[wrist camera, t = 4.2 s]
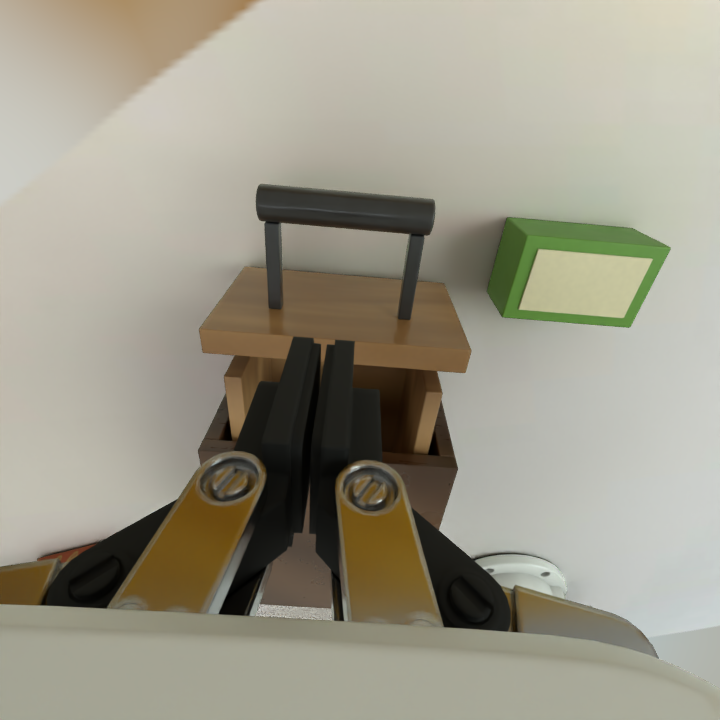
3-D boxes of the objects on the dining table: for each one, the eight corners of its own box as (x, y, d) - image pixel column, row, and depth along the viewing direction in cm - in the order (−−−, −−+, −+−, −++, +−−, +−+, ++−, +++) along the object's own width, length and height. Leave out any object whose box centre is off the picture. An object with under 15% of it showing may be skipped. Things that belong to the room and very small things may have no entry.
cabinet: (246, 349, 27) (197, 450, 19) (433, 364, 27) (458, 468, 19) (259, 491, 35) (228, 602, 27) (403, 501, 35) (412, 613, 27)
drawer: (235, 162, 20) (176, 191, 14) (465, 183, 20) (508, 221, 14) (258, 439, 30) (230, 526, 24) (409, 449, 30) (419, 538, 24)
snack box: (632, 227, 22) (673, 248, 19) (599, 301, 24) (631, 329, 21) (506, 216, 22) (528, 235, 19) (486, 291, 24) (502, 318, 21)
